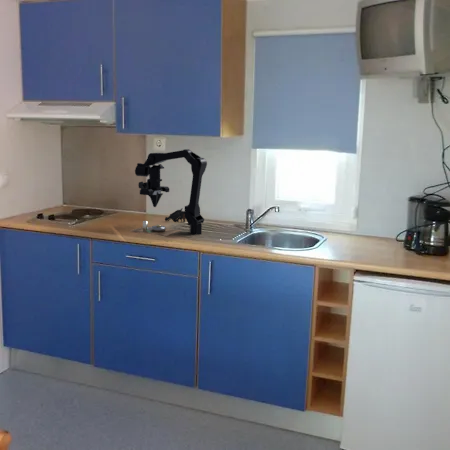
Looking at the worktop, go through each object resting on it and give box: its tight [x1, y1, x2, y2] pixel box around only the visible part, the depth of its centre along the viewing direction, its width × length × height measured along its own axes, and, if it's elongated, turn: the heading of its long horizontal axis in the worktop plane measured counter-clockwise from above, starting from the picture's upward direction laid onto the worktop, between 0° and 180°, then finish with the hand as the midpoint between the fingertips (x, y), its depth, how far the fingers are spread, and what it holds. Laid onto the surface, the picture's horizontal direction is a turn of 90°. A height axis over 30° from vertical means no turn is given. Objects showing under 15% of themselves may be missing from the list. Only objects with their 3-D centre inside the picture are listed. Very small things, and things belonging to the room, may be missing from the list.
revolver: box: [164, 207, 186, 223], centre depth 307 cm, size 3×18×12 cm
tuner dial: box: [142, 220, 167, 232], centre depth 276 cm, size 12×7×5 cm, turn 109°
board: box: [129, 225, 182, 237], centre depth 279 cm, size 22×16×1 cm
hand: (154, 206), depth 282 cm, fingers closed
